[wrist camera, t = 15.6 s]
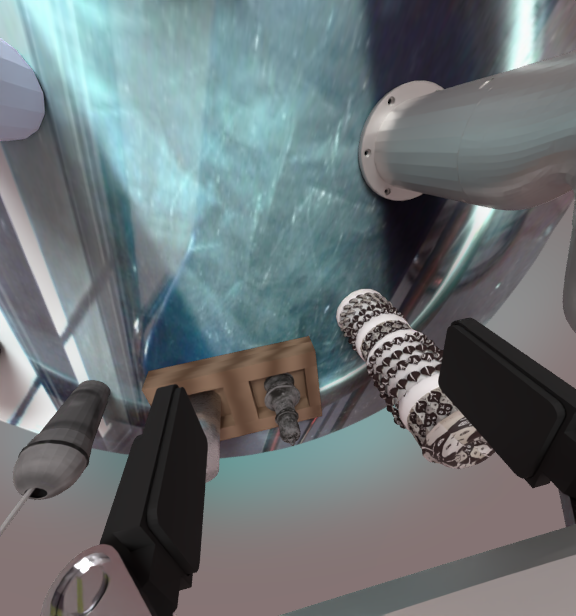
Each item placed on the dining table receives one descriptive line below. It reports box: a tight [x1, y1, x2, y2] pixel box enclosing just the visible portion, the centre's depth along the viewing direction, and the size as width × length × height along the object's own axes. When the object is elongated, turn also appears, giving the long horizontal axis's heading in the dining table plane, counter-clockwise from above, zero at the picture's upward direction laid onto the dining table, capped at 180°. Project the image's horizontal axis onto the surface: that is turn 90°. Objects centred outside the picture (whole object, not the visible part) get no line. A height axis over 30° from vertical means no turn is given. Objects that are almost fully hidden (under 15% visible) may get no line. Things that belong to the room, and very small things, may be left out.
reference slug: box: [188, 390, 221, 483], centre depth 42 cm, size 6×6×12 cm
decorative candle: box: [336, 289, 495, 469], centre depth 36 cm, size 9×9×25 cm
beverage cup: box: [0, 380, 110, 536], centre depth 36 cm, size 7×7×20 cm
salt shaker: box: [264, 373, 300, 446], centre depth 43 cm, size 6×6×12 cm
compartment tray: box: [142, 336, 322, 441], centre depth 48 cm, size 26×15×4 cm, turn 98°
